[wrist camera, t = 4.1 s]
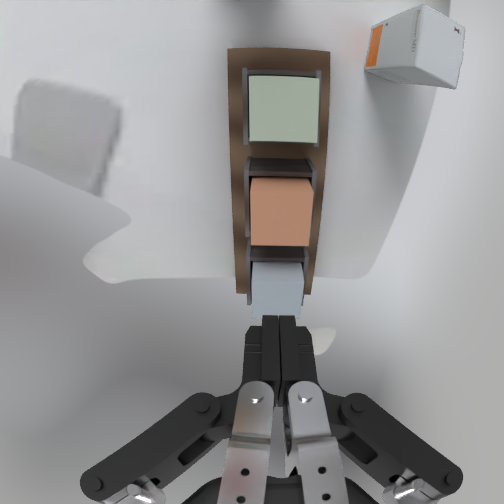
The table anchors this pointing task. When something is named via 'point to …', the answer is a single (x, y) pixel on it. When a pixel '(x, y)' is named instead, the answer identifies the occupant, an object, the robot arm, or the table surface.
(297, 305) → the grey block
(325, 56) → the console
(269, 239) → the terracotta block
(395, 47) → the skincare box
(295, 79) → the sage block
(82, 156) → the table surface
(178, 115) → the table surface
